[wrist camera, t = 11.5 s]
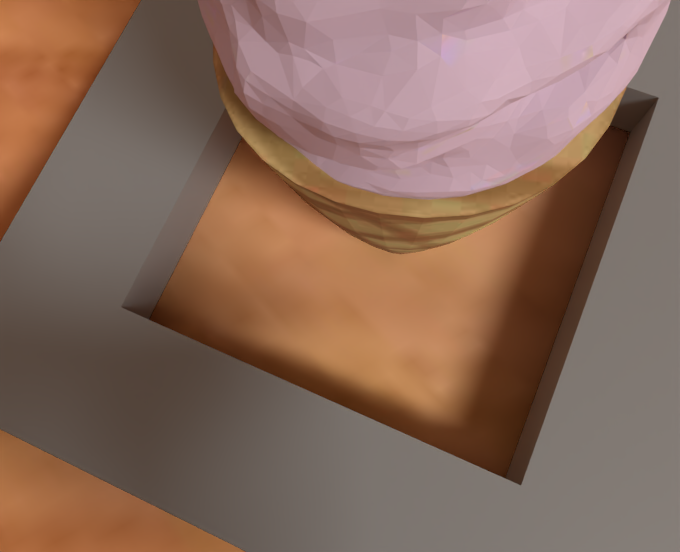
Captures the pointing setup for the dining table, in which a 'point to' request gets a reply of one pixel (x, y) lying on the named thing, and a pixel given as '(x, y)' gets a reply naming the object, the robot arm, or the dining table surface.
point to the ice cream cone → (424, 101)
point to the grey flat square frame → (300, 404)
